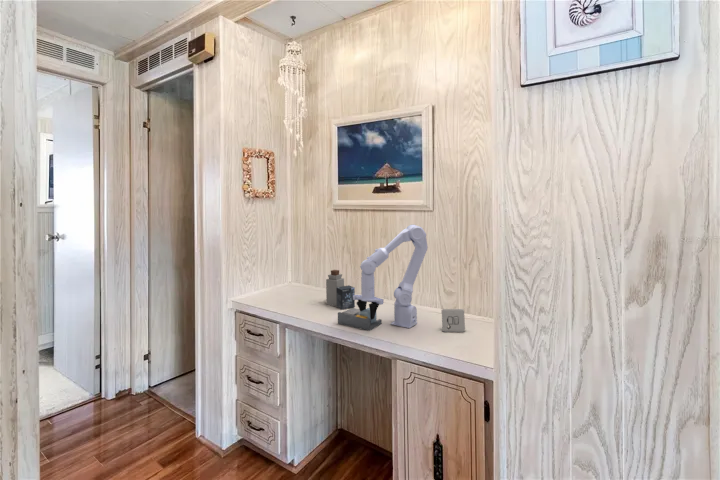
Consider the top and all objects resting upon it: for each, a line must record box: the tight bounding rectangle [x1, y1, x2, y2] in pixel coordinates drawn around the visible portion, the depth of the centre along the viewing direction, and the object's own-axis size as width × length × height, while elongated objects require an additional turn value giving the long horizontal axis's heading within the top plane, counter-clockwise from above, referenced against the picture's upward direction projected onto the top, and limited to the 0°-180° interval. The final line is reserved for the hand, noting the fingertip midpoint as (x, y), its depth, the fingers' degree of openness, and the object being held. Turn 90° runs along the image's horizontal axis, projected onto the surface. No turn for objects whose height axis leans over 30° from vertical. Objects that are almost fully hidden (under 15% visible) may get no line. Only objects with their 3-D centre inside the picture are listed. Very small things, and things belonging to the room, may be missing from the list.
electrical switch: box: [441, 308, 466, 333], centre depth 156 cm, size 9×5×9 cm, turn 87°
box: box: [336, 284, 356, 310], centre depth 189 cm, size 8×6×11 cm
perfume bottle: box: [325, 269, 345, 307], centre depth 195 cm, size 7×7×18 cm
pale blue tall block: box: [360, 307, 377, 323], centre depth 163 cm, size 4×7×6 cm, turn 147°
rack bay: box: [337, 307, 383, 331], centre depth 164 cm, size 17×10×6 cm, turn 57°
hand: (368, 317), depth 163 cm, fingers closed on pale blue tall block, 4 cm apart
